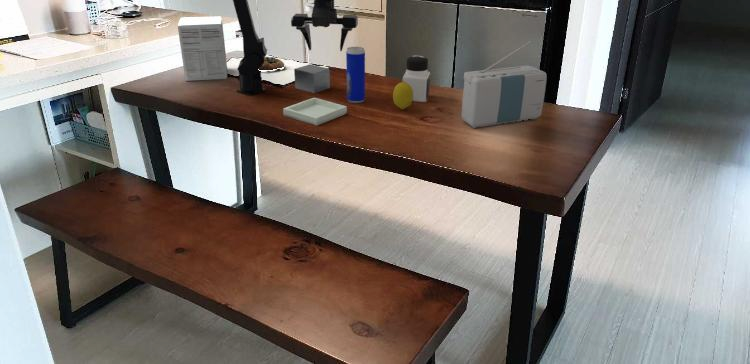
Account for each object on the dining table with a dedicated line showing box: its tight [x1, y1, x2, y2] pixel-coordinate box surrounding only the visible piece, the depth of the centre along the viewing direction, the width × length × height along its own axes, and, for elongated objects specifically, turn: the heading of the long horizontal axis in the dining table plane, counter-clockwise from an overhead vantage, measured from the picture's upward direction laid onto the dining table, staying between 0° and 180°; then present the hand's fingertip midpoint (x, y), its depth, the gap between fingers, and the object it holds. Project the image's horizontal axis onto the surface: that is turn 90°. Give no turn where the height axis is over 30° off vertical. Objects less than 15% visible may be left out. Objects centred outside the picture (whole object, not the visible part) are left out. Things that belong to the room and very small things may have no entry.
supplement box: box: [177, 15, 228, 82], centre depth 181 cm, size 13×13×18 cm
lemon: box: [392, 80, 413, 110], centre depth 154 cm, size 6×6×8 cm
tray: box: [282, 97, 348, 127], centre depth 151 cm, size 12×12×2 cm
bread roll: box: [258, 56, 285, 70], centre depth 192 cm, size 11×11×5 cm
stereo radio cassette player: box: [461, 40, 547, 129], centre depth 144 cm, size 21×8×20 cm, turn 112°
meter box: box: [293, 63, 331, 94], centre depth 172 cm, size 8×7×6 cm
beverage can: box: [345, 46, 366, 104], centre depth 159 cm, size 5×5×15 cm
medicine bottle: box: [402, 55, 431, 103], centre depth 162 cm, size 7×7×12 cm
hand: (325, 50), depth 167 cm, fingers open, 9 cm apart
